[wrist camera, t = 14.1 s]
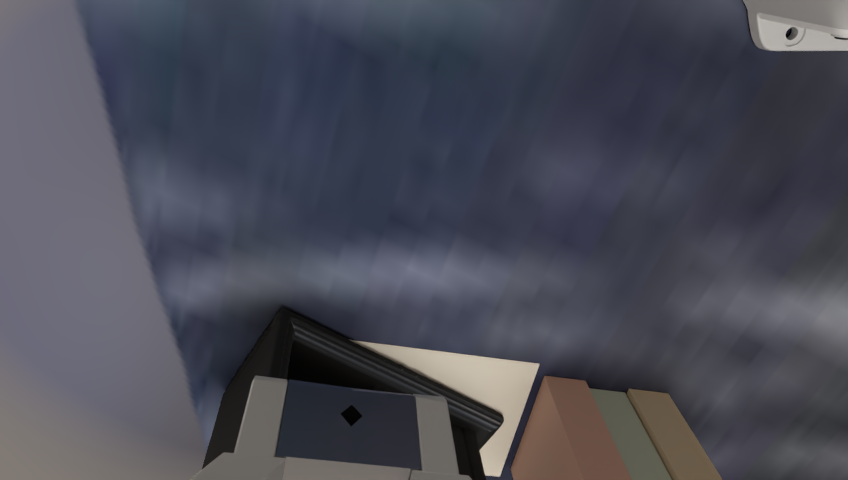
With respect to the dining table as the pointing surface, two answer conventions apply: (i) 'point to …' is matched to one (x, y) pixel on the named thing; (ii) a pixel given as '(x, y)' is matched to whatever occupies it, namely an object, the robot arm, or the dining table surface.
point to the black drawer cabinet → (344, 384)
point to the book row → (607, 437)
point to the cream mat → (474, 388)
